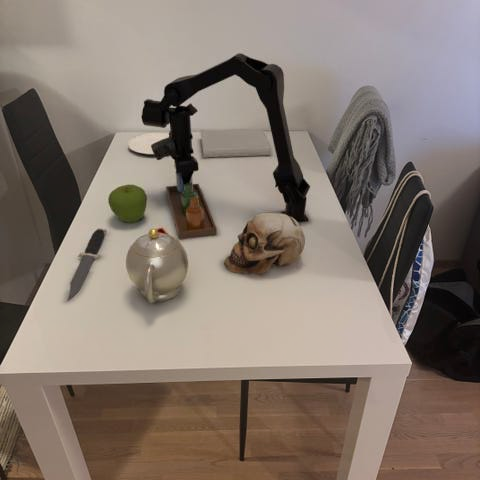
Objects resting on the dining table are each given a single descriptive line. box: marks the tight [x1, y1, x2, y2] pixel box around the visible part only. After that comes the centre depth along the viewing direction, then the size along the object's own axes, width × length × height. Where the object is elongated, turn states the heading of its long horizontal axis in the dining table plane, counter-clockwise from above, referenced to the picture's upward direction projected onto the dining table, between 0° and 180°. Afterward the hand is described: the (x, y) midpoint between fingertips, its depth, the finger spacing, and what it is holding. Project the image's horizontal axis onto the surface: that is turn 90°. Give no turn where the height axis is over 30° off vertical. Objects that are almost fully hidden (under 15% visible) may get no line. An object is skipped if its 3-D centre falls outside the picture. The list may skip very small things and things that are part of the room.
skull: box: [223, 212, 306, 276], centre depth 117 cm, size 16×17×13 cm
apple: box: [107, 184, 148, 224], centre depth 132 cm, size 11×10×10 cm
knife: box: [67, 227, 108, 301], centre depth 118 cm, size 30×2×5 cm
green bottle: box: [181, 183, 198, 216], centre depth 135 cm, size 5×5×8 cm
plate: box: [127, 132, 170, 156], centre depth 176 cm, size 21×21×2 cm
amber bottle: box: [186, 198, 205, 230], centre depth 128 cm, size 5×5×8 cm
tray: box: [165, 183, 218, 240], centre depth 138 cm, size 28×10×2 cm, turn 14°
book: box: [200, 128, 272, 159], centre depth 176 cm, size 18×4×24 cm
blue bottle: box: [174, 171, 194, 193], centre depth 140 cm, size 5×5×8 cm
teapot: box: [125, 226, 189, 304], centre depth 104 cm, size 18×14×16 cm
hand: (184, 182), depth 142 cm, fingers closed on blue bottle, 5 cm apart
